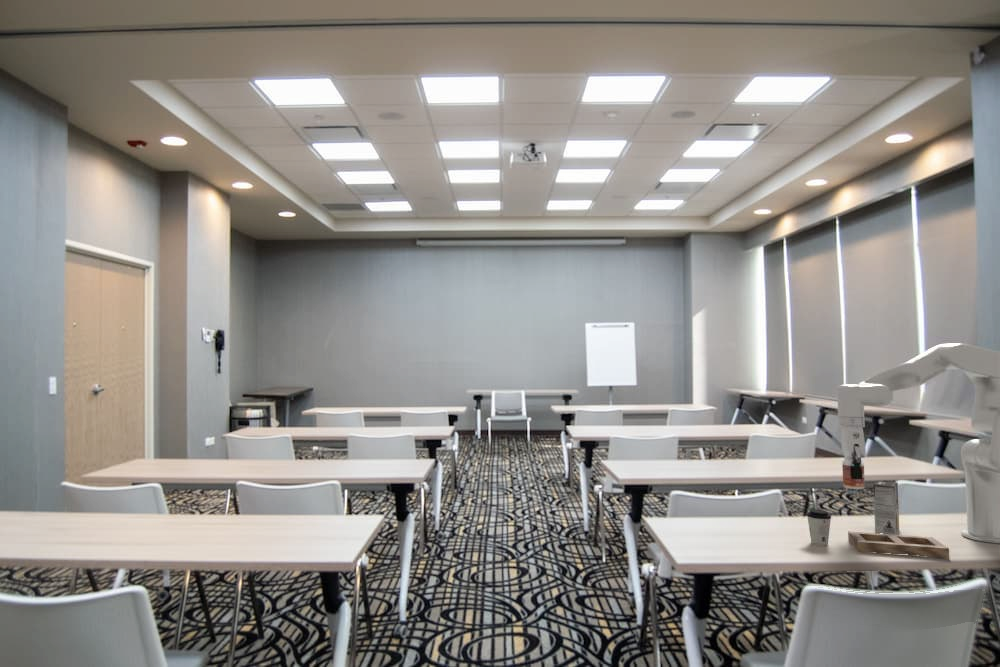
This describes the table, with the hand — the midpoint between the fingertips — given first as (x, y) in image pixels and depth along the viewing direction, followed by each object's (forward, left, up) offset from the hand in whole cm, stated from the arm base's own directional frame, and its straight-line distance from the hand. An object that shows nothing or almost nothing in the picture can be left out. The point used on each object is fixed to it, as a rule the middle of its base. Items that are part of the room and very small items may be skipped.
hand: (853, 476), depth 198 cm
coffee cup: (+13, +13, -20) cm, 27 cm away
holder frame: (-8, +13, -19) cm, 25 cm away
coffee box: (-12, -9, -20) cm, 24 cm away
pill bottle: (0, 0, -4) cm, 4 cm away
